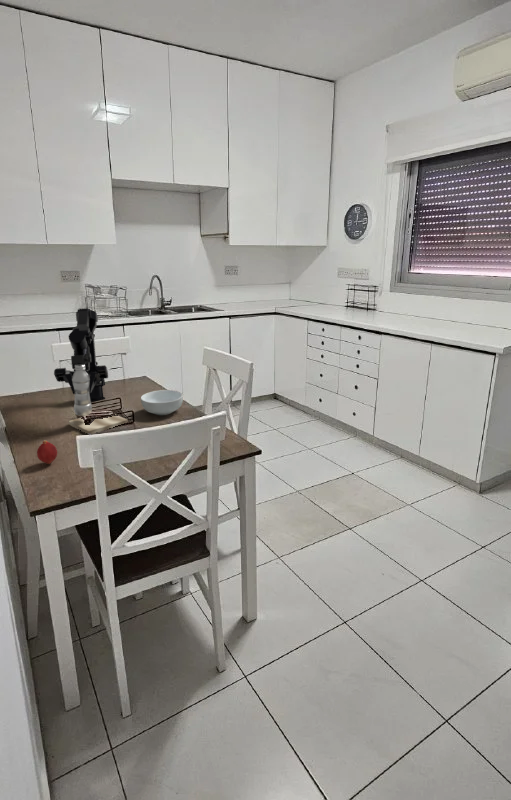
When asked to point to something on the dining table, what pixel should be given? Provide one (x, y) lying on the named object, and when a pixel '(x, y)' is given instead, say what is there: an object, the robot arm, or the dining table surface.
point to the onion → (47, 452)
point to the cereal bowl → (162, 401)
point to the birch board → (98, 424)
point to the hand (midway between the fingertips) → (81, 393)
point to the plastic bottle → (81, 391)
